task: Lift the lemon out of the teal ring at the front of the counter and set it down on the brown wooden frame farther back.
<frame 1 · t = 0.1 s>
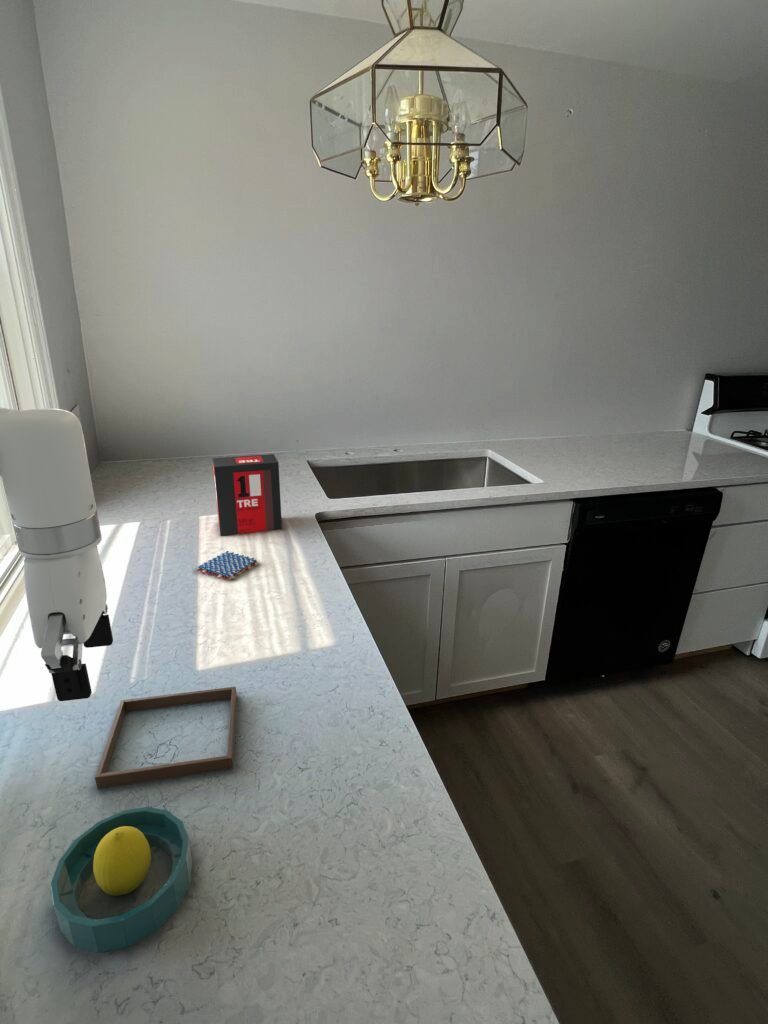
hand: (88, 669, 63), 21 cm above the worktop, tool pointing down, fingers open, 9 cm apart
cleaning product box: (250, 529, 156), on the worktop
teal ring: (128, 889, 61), on the worktop
lemon: (128, 888, 61), resting on teal ring
brown wooden frame: (174, 740, 81), on the worktop
woven mat: (227, 570, 133), on the worktop
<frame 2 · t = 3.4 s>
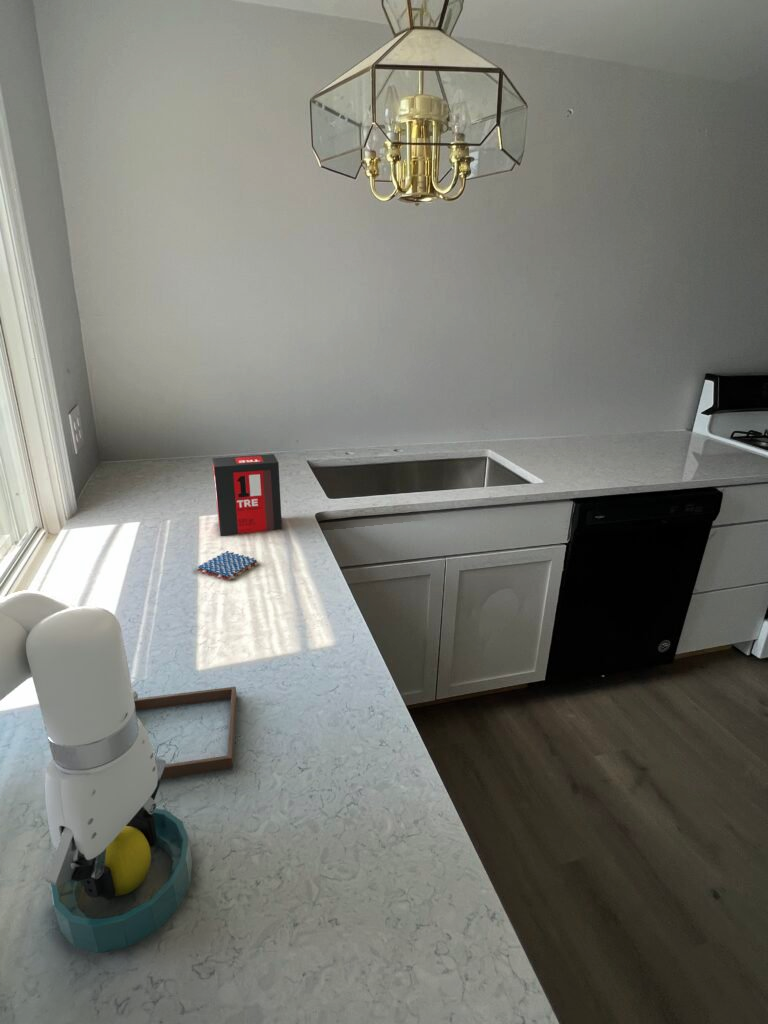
hand: (123, 864, 60), 4 cm above the worktop, tool pointing down, fingers closed on lemon, 5 cm apart
lemon: (128, 888, 61), resting on teal ring, touching gripper
everything else where it was.
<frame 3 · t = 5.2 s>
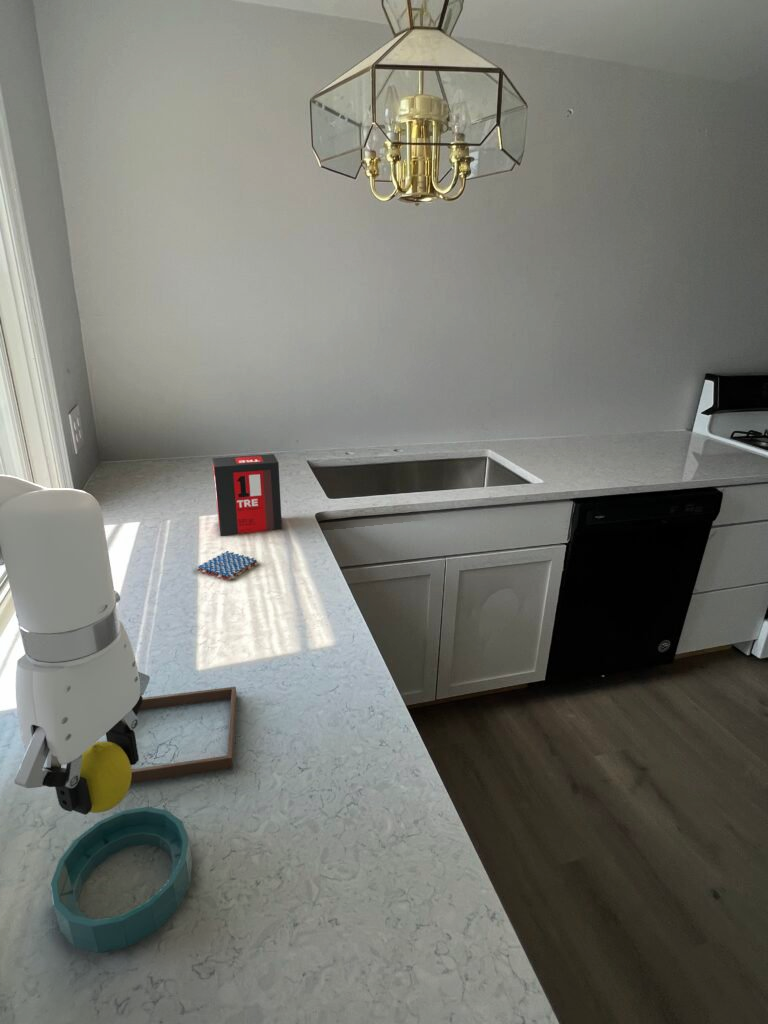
hand: (101, 781, 56), 15 cm above the worktop, tool pointing down, fingers closed on lemon, 5 cm apart
lemon: (106, 808, 57), point 12 cm above the worktop, touching gripper
everything else where it was.
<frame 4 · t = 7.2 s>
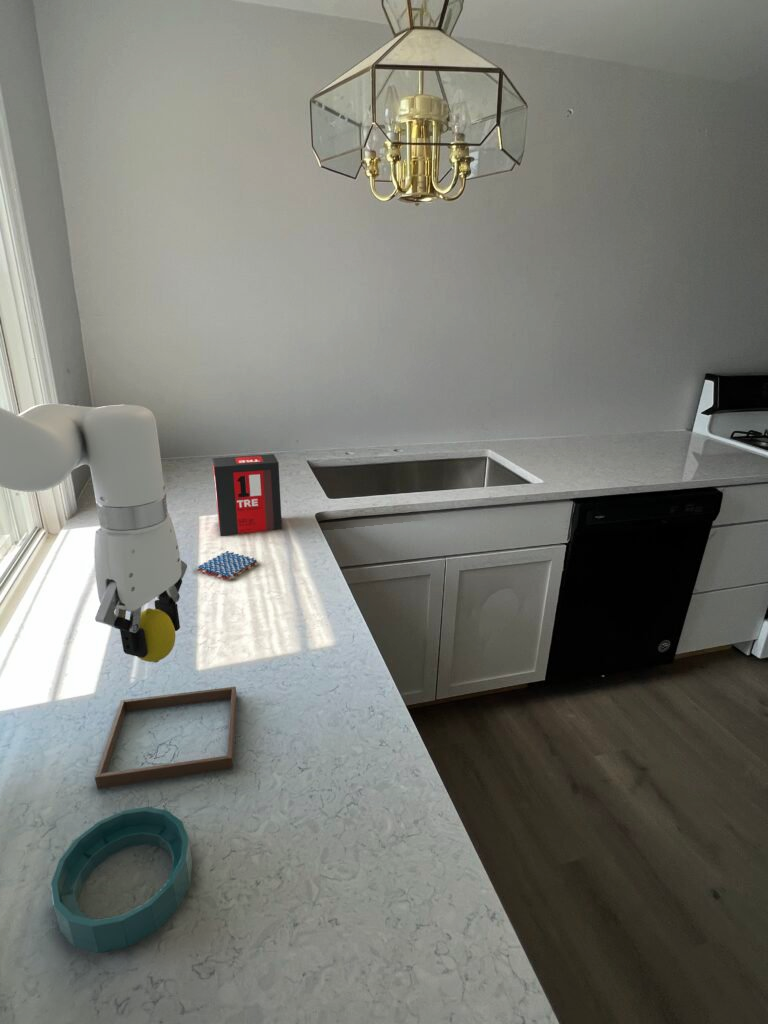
hand: (152, 639, 72), 19 cm above the worktop, tool pointing down, fingers closed on lemon, 5 cm apart
lemon: (156, 663, 74), point 15 cm above the worktop, touching gripper
everything else where it was.
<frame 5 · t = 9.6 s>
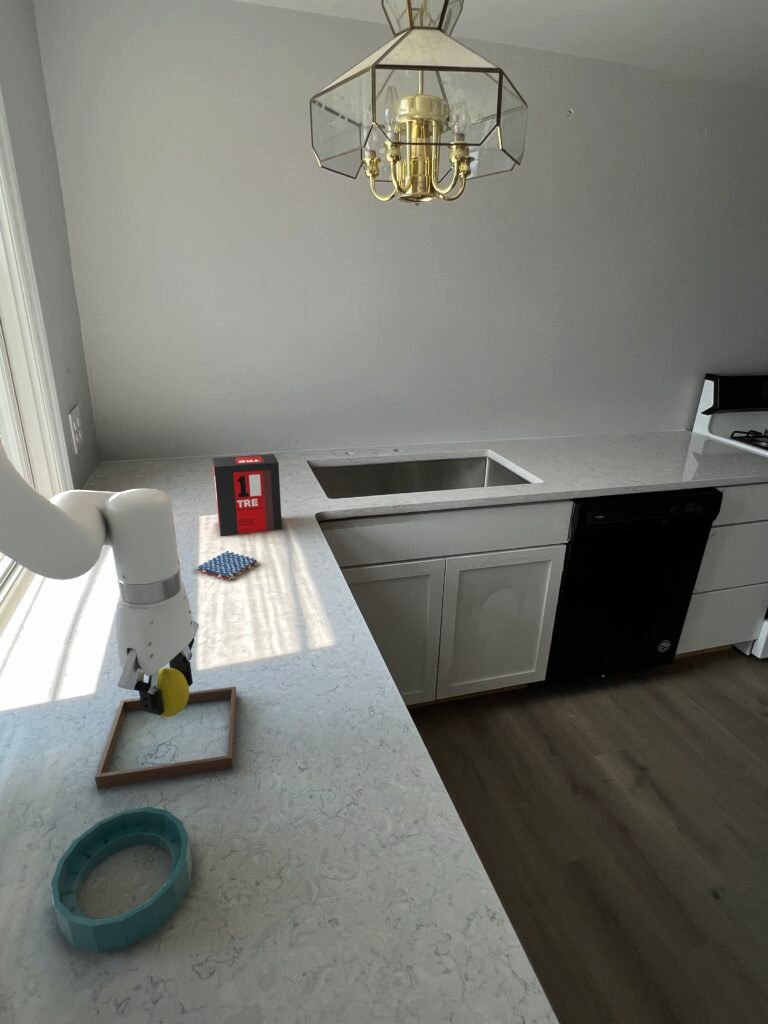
hand: (168, 696, 79), 8 cm above the worktop, tool pointing down, fingers closed on lemon, 5 cm apart
lemon: (171, 716, 80), point 4 cm above the worktop, touching gripper
everything else where it was.
when the fingers open (4 cm above the worktop, at t = 11.2 s): lemon stays where it is, resting on brown wooden frame.
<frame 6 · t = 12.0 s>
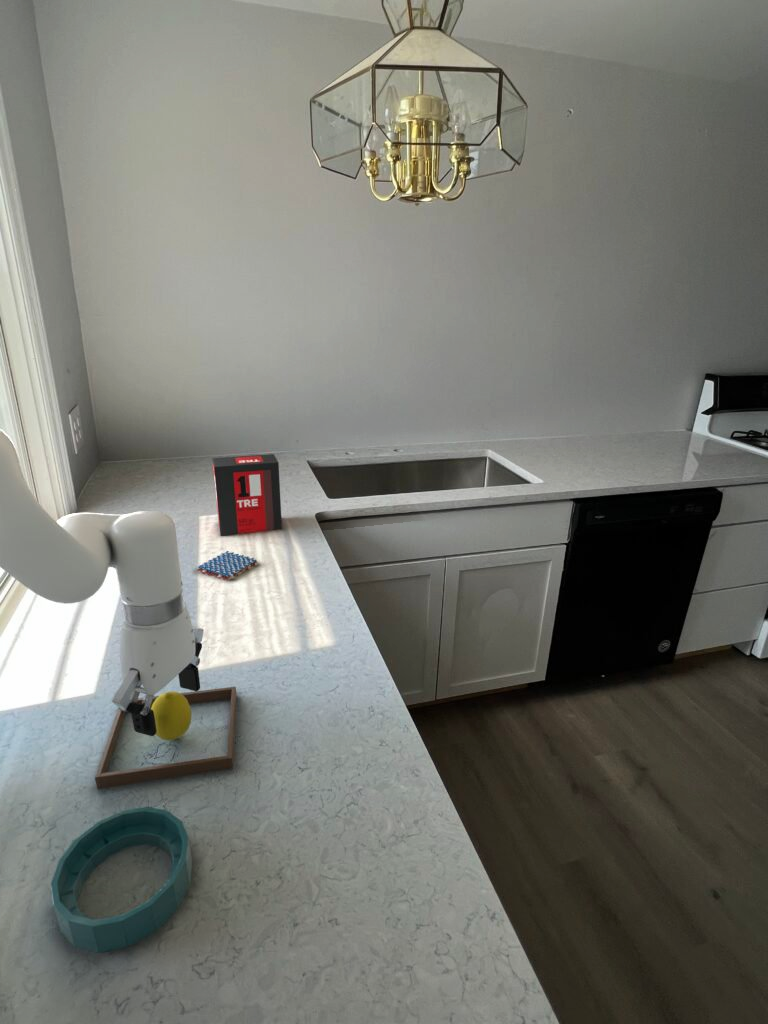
hand: (169, 709, 79), 6 cm above the worktop, tool pointing down, fingers open, 9 cm apart
lemon: (174, 739, 81), resting on brown wooden frame
everything else where it was.
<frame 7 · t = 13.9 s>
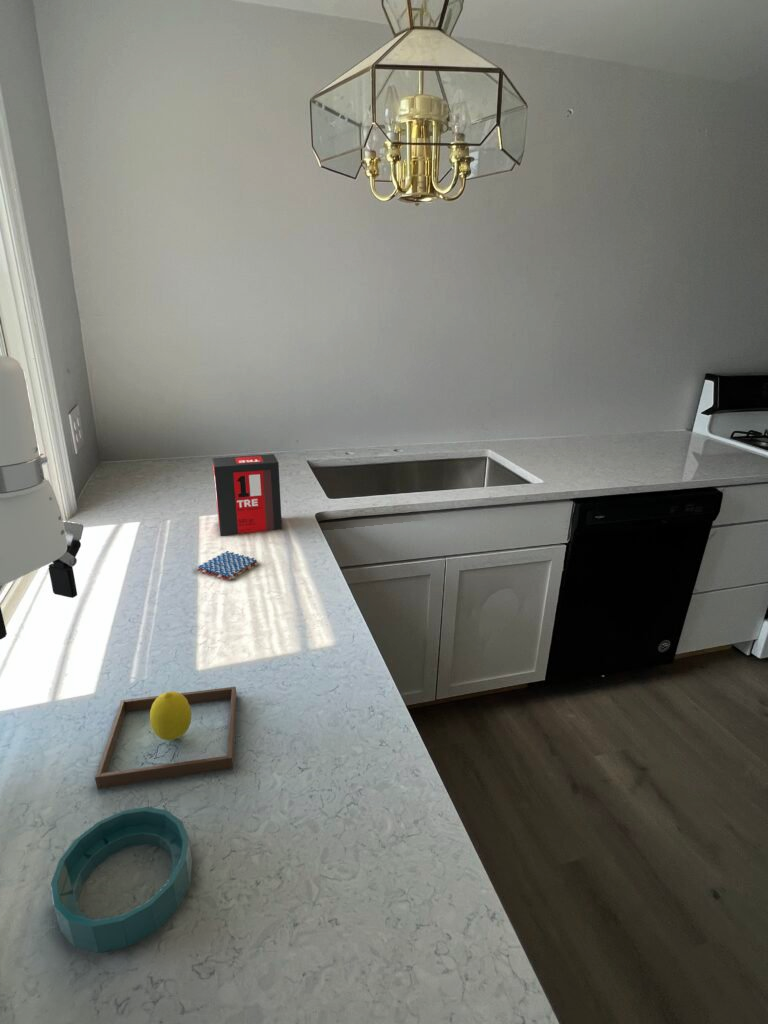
hand: (32, 614, 65), 26 cm above the worktop, tool pointing down, fingers open, 9 cm apart
nothing on the worktop moved.
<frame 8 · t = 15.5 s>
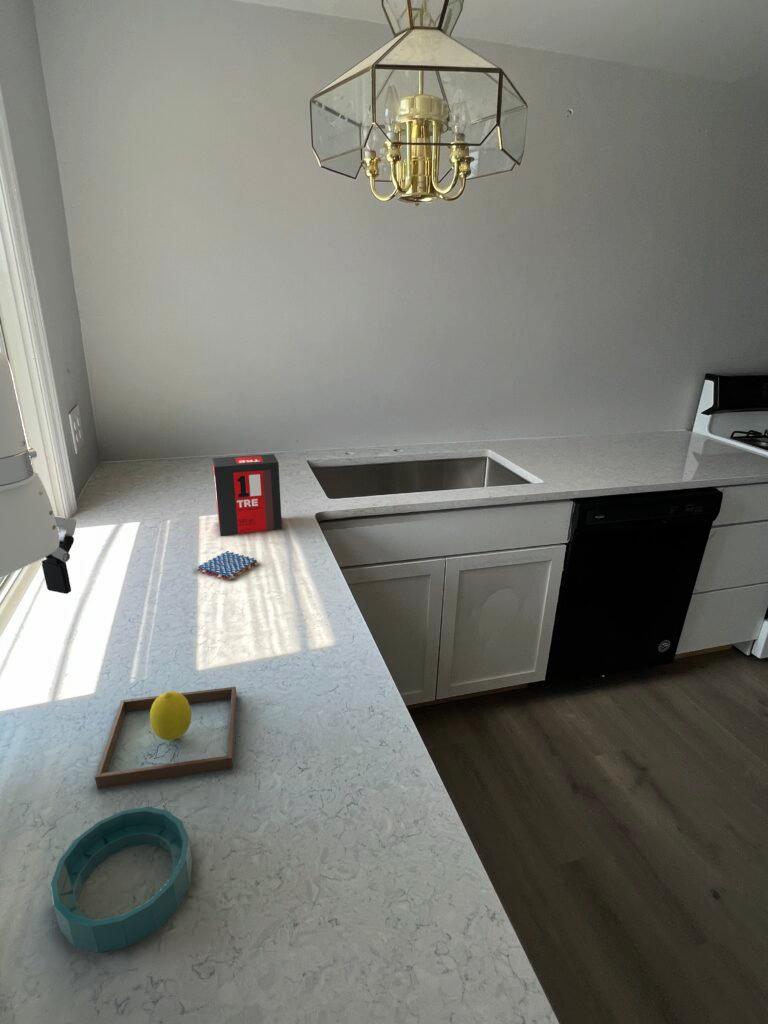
hand: (25, 610, 65), 26 cm above the worktop, tool pointing down, fingers open, 9 cm apart
nothing on the worktop moved.
at the end: lemon inside the target area in the brown wooden frame (0.0 cm from its centre), point 0.3 cm above the brown wooden frame's base; the gripper is holding nothing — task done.
